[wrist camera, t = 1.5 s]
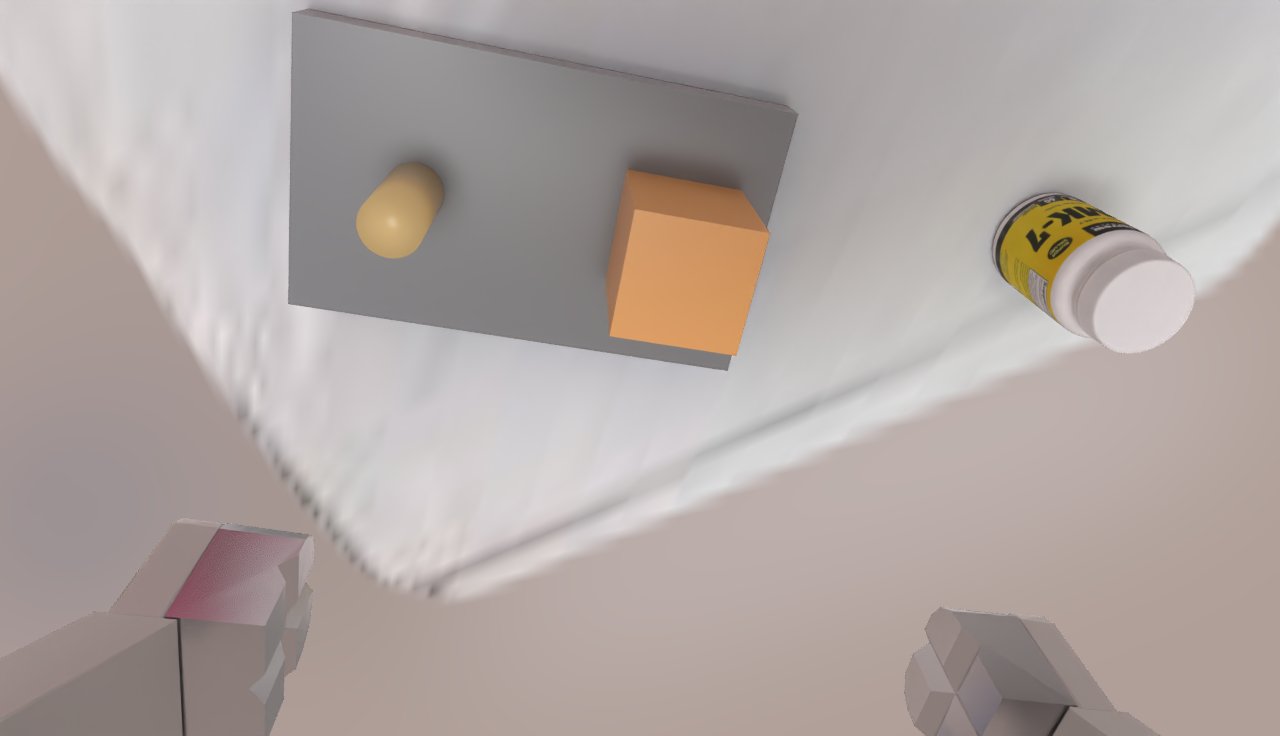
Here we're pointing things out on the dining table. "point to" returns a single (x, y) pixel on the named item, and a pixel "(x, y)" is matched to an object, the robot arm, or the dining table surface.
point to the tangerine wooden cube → (683, 263)
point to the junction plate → (492, 179)
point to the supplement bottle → (1093, 273)
